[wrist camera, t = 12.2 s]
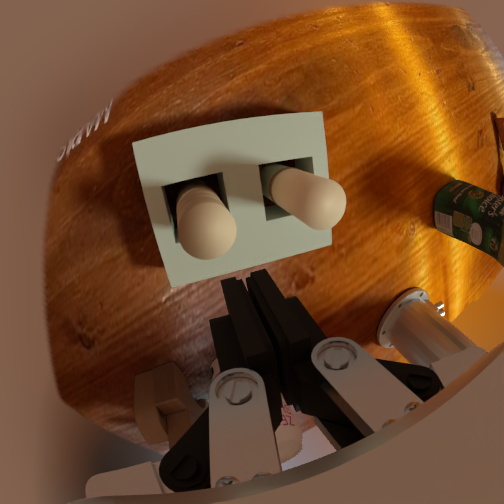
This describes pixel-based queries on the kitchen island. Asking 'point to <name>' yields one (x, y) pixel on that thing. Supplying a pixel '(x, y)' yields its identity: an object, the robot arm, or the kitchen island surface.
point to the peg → (203, 221)
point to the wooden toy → (165, 404)
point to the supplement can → (287, 430)
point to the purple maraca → (501, 138)
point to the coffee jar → (471, 217)
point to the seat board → (245, 189)
